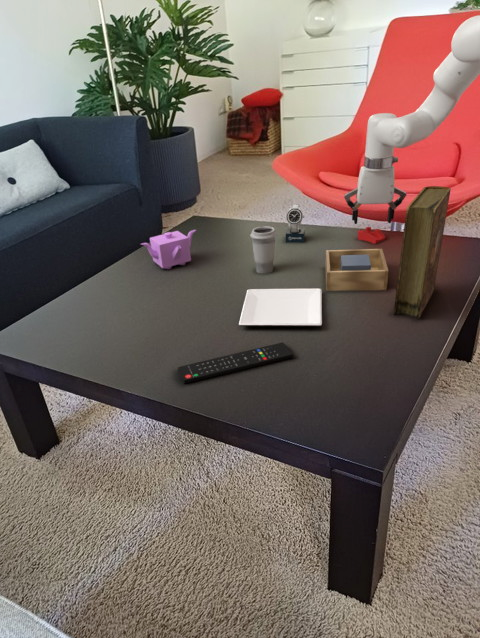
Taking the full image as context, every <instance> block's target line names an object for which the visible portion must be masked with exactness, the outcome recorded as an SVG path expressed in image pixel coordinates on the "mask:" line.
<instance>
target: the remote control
mask: <svg viewBox="0 0 480 638" xmlns="http://www.w3.org/2000/svg"><path fill="white" fill-rule="evenodd" d="M291 358H294V354H293V352H292V351H291V350H290V349H289V348H288V346H287V345H286V344H285V342H283V341H282V342H279V343H273V344H270V345H266V346H262V347H261V346H260V347H256V348H253V349H248V350H244V351H240V352H236V353H231V354H227V355H224V356H219V357H215V358H211V359H206V360H202V361H198V362H193V363H190V364H184V365H180V366H178V367H177V374H178V379H179V381H180V382H181V383H182V384H188V383H192V382H196V381H200V380H205V379H208V378H213V377H216V376H220V375H221V376H222V375H225V374H229V373H233V372H237V371H242V370H245V369H250V368H254V367H258V366H262V365H266V364H270V363H271V364H272V363H274V362H278V361H279V362H280V361H283V360H286V359H291Z"/></svg>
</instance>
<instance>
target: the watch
mask: <svg viewBox="0 0 480 638" xmlns="http://www.w3.org/2000/svg"><path fill="white" fill-rule="evenodd" d="M285 219H286V221H287V224H288V227H289V228H286V231H285V243H286V244H287V243H289V244H290V243H293V244H294V243H295V244H296V243H298V244H299V243H300V244H301V243H304V242H305V238H306V229H305V228H300V226H301V224H302V221H303V219H305V215H303V212H302V209H301V207H300V204H291V206H290V207H289V209H288V211H287V213H286V215H285Z"/></svg>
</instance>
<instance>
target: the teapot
mask: <svg viewBox="0 0 480 638" xmlns="http://www.w3.org/2000/svg"><path fill="white" fill-rule="evenodd" d="M196 231H197V229H192V230H190V231H189V232H188V233H187V235H185V234H183V233H182V232H181V231H179V230H174V231H167V232H165V233H163V234H158V235H155V236H151V237H149V243H148V242H142V243H140V245H141V246H143V247H145V248H146V249H147V251H148V253H149V255H150V256H151V257H152V261H153V262H154V263H156V265H158V266H159V267H160V268H161V269H165V270H170V269H172V267H173V266H177V265H179V266H185V265H186V263H188V262H191V261H192V257H191V249H190V248H191V245H192V238H193V234H194V233H195V232H196Z"/></svg>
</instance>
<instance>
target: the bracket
mask: <svg viewBox="0 0 480 638" xmlns="http://www.w3.org/2000/svg"><path fill="white" fill-rule="evenodd" d="M357 240H359V241H365V242H369V243H372V244H374V245H377V244H378V243H380V242H382V241H385V240H386V236H385V234H384V233H383V231H382V230H381V229H380V228H376V229H374V230H372V227H371V226H367V227H365V230H364V229H359V230H357Z"/></svg>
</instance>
